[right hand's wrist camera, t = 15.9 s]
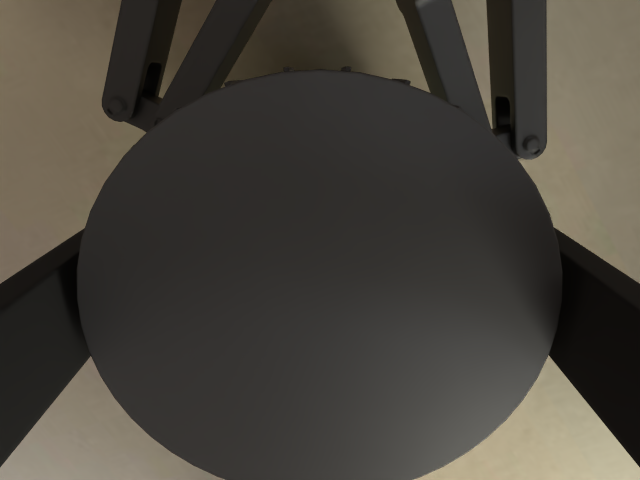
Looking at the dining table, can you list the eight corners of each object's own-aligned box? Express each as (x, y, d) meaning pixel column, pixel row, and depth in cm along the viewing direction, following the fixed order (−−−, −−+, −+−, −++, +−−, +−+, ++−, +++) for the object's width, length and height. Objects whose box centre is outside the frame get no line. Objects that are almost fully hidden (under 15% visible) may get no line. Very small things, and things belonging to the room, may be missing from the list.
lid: (458, -17, 9) (501, -44, 7) (555, 369, 13) (603, 428, 11) (36, 172, 11) (-37, 197, 9) (231, 469, 15) (215, 539, 12)
